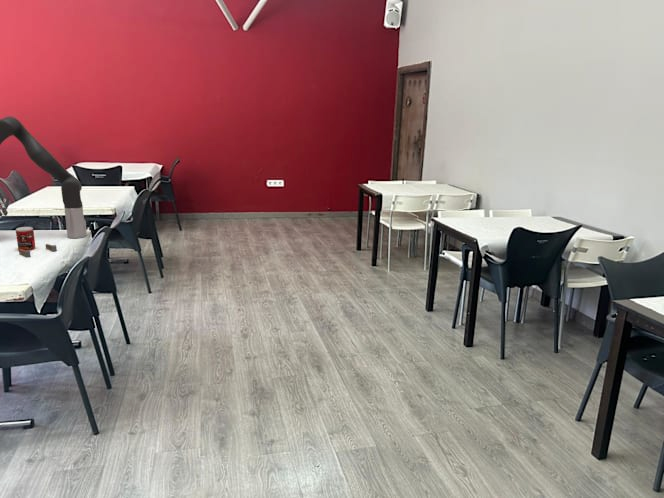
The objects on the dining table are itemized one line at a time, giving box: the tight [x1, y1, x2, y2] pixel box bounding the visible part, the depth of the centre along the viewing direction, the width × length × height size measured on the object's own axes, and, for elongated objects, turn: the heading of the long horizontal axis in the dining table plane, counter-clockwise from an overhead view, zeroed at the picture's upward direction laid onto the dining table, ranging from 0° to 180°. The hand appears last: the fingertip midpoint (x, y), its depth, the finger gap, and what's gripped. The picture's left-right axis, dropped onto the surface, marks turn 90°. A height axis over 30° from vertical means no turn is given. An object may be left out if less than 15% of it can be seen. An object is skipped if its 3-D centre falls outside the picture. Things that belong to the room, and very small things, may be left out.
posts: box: [24, 244, 58, 258], centre depth 252 cm, size 15×2×3 cm, turn 148°
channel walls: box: [18, 243, 53, 257], centre depth 254 cm, size 14×6×2 cm, turn 148°
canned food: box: [15, 226, 36, 251], centre depth 258 cm, size 8×8×11 cm
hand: (3, 215), depth 266 cm, fingers closed
